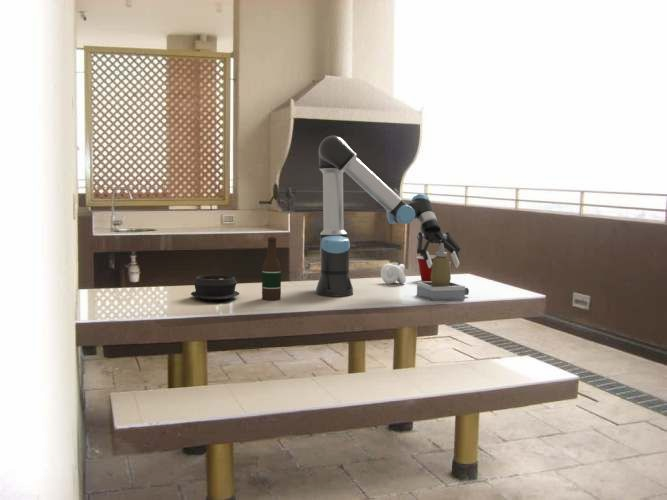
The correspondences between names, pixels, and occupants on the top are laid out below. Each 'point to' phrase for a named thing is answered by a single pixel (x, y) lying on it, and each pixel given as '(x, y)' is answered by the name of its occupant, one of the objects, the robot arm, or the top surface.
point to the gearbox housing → (441, 291)
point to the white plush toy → (393, 273)
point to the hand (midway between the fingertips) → (444, 265)
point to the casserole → (215, 287)
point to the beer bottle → (271, 273)
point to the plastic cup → (425, 268)
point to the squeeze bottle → (441, 268)
